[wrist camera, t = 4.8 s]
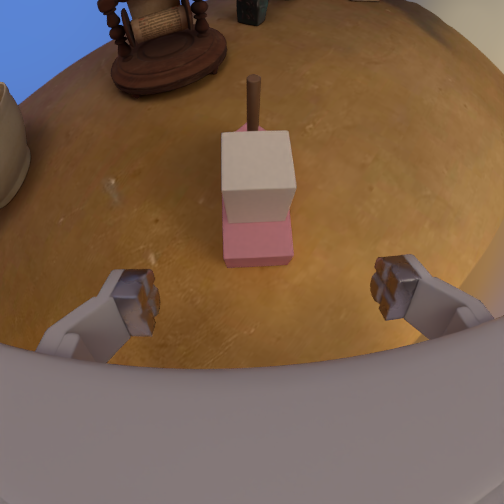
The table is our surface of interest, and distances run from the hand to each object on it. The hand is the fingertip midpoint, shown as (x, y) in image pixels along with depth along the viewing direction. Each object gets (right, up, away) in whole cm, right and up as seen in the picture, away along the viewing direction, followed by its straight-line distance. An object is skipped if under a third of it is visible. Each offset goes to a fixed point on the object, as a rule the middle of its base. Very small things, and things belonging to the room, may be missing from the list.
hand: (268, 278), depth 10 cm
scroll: (-11, +25, +18) cm, 33 cm away
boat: (0, +5, +13) cm, 14 cm away
